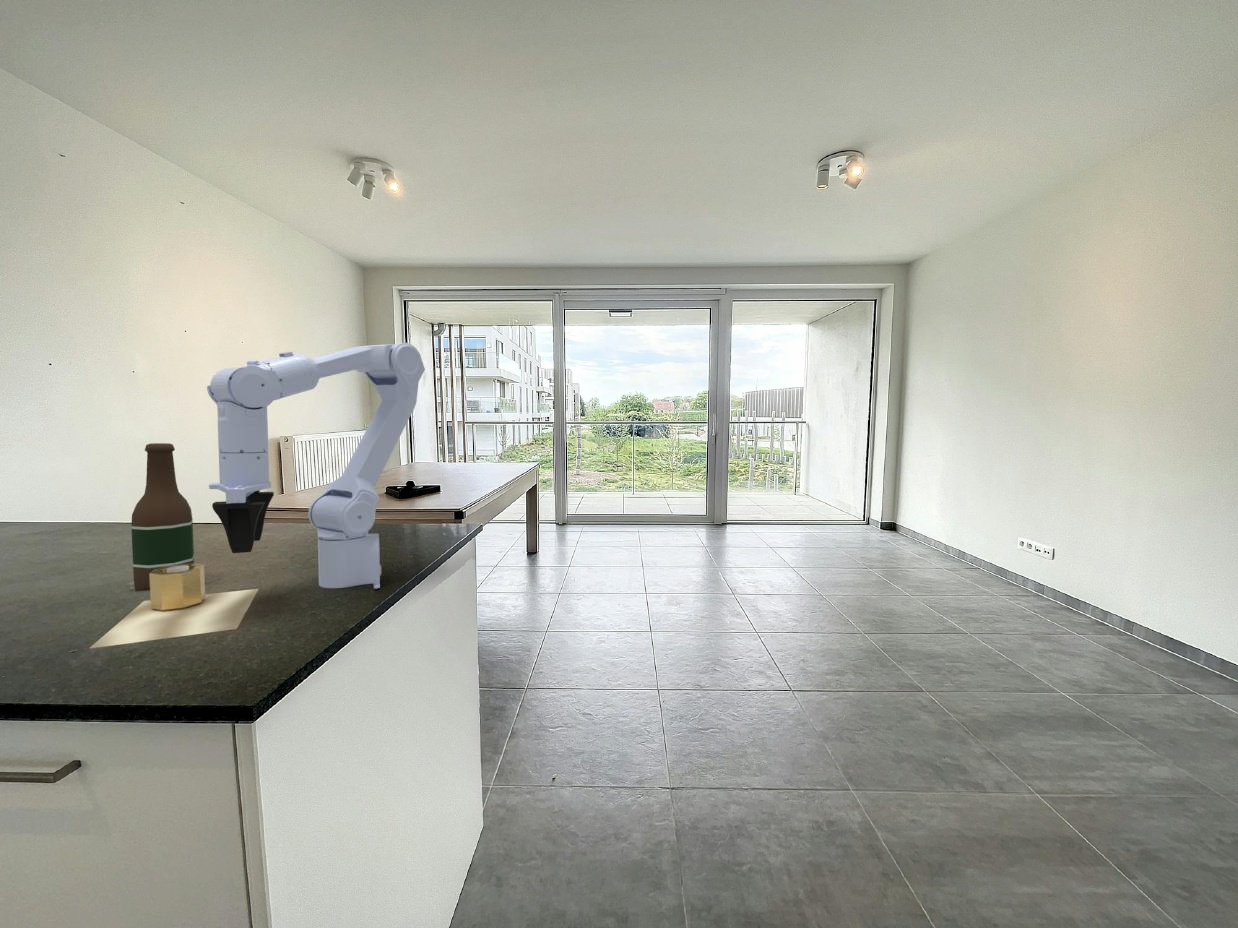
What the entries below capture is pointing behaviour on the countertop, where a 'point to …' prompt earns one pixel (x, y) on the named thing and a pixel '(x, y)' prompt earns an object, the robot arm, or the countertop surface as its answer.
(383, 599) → the countertop surface
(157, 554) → the beer bottle
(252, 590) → the board
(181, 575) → the collar ring
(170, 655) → the countertop surface
